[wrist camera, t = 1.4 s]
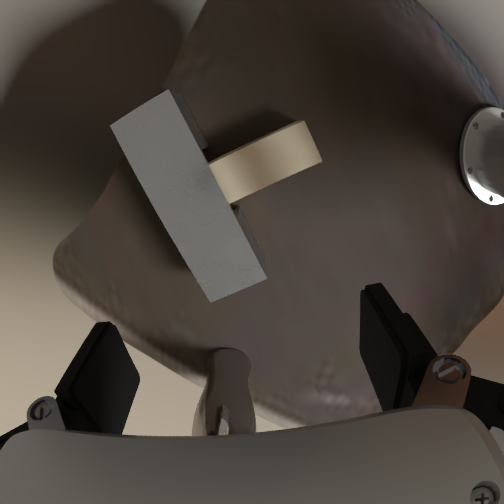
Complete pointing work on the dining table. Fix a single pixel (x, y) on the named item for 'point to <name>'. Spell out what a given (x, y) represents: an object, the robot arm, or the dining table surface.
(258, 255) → the housing
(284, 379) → the dining table surface
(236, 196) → the bar
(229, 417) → the beer glass
